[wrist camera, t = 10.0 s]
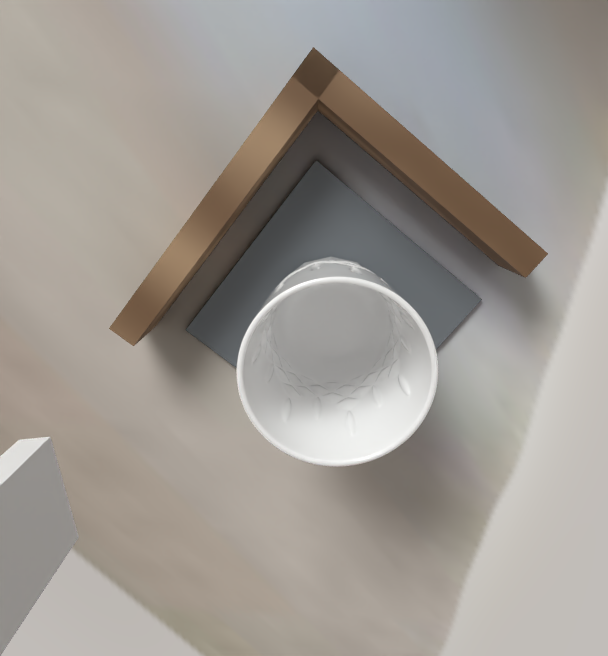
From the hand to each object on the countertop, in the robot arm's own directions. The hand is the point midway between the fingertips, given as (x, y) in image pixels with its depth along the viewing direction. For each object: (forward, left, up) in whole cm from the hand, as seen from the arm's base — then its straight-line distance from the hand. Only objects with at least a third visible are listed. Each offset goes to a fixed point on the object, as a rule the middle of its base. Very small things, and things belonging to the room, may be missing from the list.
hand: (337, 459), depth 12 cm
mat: (+1, +1, -19) cm, 19 cm away
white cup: (+1, +1, -19) cm, 19 cm away
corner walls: (-1, -1, -19) cm, 19 cm away
